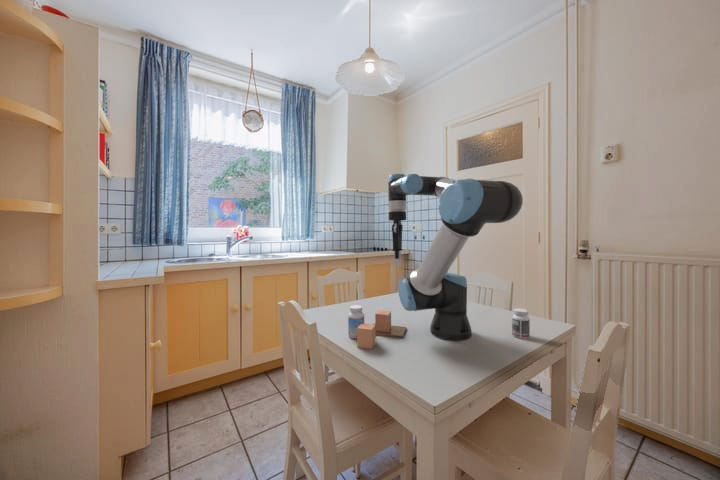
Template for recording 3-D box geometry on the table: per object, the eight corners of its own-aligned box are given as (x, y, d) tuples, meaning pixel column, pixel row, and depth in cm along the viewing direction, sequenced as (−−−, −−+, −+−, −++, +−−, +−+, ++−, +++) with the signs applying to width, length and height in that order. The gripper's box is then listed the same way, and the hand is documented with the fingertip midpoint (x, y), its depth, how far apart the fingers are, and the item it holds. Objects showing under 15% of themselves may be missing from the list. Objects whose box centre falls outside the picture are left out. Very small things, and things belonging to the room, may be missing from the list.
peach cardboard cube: (375, 343, 102) (375, 324, 102) (371, 348, 97) (371, 329, 97) (361, 341, 104) (361, 323, 104) (357, 347, 99) (357, 328, 99)
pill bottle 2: (528, 334, 109) (529, 308, 109) (530, 340, 104) (530, 313, 103) (511, 332, 111) (511, 307, 111) (512, 337, 106) (512, 311, 106)
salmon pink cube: (391, 327, 116) (391, 311, 116) (388, 331, 111) (388, 315, 111) (378, 326, 117) (378, 310, 117) (375, 330, 112) (375, 313, 112)
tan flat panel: (406, 328, 116) (406, 313, 116) (402, 337, 107) (402, 321, 107) (372, 325, 121) (372, 310, 120) (366, 334, 111) (366, 317, 111)
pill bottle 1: (362, 339, 105) (362, 309, 105) (346, 338, 107) (346, 308, 106) (365, 333, 111) (365, 305, 111) (350, 332, 113) (350, 304, 112)
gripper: (391, 212, 131) (391, 263, 132) (385, 210, 118) (385, 267, 119) (408, 211, 129) (408, 264, 130) (403, 210, 116) (403, 268, 117)
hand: (397, 265), depth 124 cm, fingers closed
